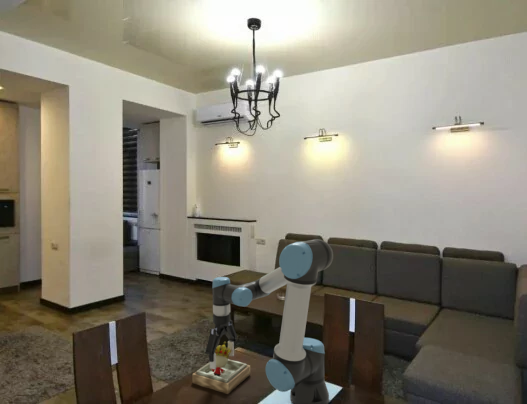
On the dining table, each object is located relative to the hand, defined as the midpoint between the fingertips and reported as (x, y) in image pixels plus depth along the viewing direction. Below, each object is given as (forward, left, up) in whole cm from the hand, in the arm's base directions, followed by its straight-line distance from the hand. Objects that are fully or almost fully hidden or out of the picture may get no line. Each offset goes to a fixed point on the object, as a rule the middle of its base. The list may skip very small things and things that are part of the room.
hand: (222, 361), depth 157 cm
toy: (0, +4, -5) cm, 7 cm away
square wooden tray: (0, 0, -7) cm, 8 cm away
